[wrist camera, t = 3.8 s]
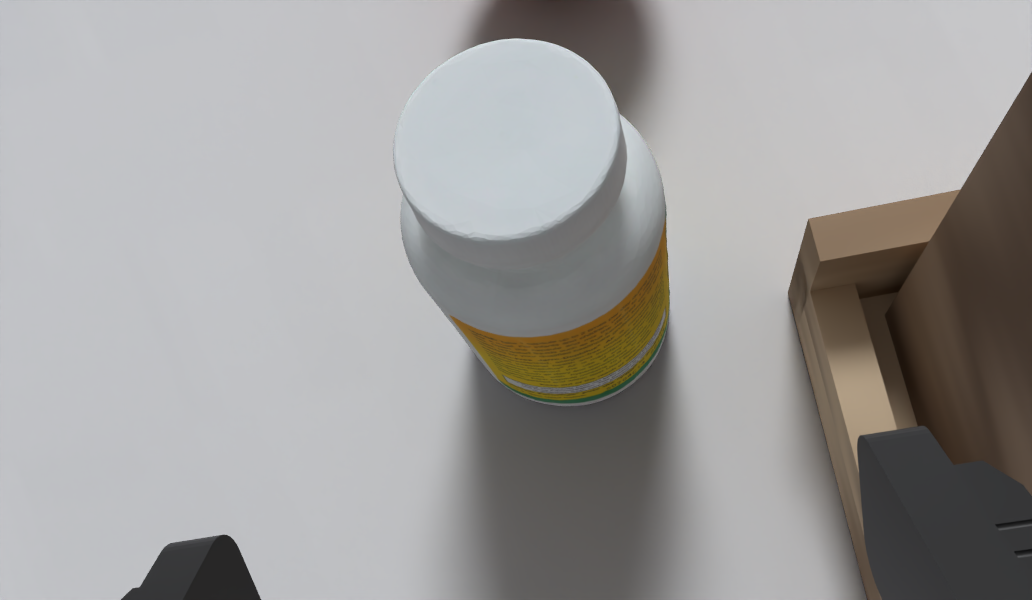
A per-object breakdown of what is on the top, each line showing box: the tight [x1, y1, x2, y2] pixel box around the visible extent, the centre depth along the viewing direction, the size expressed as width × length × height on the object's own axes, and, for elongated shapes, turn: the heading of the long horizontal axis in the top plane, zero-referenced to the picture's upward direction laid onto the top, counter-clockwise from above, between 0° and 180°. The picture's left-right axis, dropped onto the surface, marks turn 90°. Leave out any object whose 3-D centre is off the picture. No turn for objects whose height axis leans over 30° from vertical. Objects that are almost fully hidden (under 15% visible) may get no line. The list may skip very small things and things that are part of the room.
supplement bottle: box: [393, 38, 670, 406], centre depth 20 cm, size 5×5×10 cm
